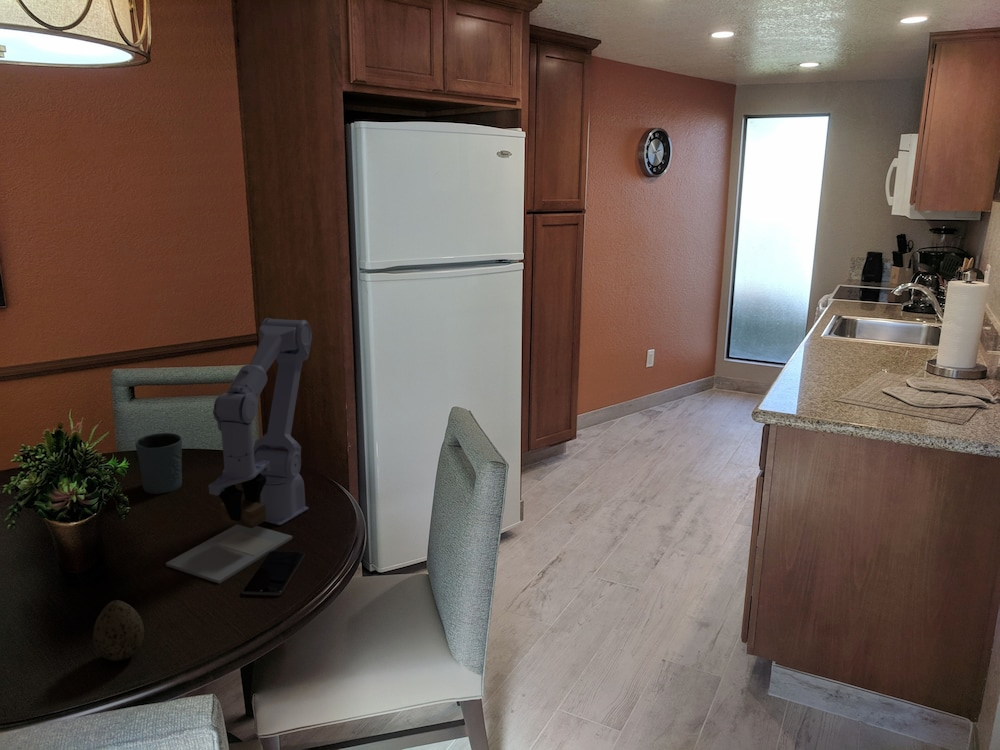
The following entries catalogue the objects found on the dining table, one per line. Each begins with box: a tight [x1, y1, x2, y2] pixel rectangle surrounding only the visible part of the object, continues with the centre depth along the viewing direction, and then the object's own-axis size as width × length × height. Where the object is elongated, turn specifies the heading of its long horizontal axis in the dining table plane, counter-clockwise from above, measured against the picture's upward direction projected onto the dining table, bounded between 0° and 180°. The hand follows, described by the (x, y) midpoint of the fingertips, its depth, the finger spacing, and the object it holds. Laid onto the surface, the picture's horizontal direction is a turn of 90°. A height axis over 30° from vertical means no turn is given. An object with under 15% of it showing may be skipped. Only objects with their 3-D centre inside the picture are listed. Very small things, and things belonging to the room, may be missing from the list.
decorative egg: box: [92, 599, 145, 662], centre depth 118 cm, size 7×7×10 cm
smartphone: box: [241, 550, 306, 597], centre depth 144 cm, size 7×1×16 cm
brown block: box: [219, 498, 266, 528], centre depth 152 cm, size 8×4×4 cm, turn 64°
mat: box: [165, 524, 293, 585], centre depth 152 cm, size 20×14×1 cm
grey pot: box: [135, 432, 183, 495], centre depth 180 cm, size 10×10×12 cm
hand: (243, 515), depth 152 cm, fingers closed on brown block, 4 cm apart
